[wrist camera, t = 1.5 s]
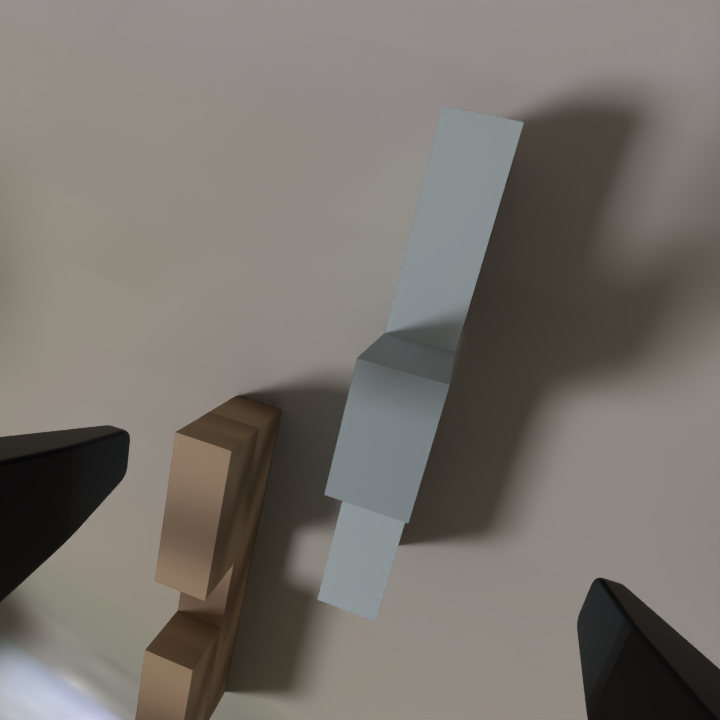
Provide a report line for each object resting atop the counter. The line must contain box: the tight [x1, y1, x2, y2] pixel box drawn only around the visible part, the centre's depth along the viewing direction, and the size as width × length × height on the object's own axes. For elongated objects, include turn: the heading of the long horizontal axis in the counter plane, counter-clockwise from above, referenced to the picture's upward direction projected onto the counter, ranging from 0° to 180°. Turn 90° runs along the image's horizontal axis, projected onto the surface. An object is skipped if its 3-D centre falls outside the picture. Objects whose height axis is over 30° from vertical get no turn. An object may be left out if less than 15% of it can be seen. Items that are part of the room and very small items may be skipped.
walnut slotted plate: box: [135, 396, 281, 720], centre depth 23 cm, size 18×2×5 cm, turn 167°
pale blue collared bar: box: [317, 106, 524, 622], centre depth 17 cm, size 18×2×9 cm, turn 167°
